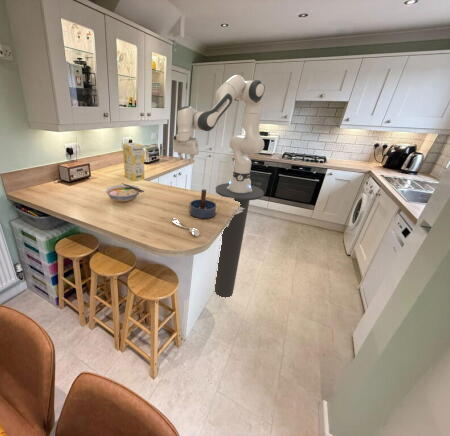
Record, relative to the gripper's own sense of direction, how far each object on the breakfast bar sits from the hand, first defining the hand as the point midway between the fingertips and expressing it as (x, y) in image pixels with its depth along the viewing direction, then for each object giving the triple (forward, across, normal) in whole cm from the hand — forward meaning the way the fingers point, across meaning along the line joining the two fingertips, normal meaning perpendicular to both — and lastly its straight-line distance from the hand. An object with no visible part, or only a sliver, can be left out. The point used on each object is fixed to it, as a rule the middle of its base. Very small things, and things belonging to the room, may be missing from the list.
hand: (185, 161), depth 141 cm
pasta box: (+24, +72, +2) cm, 75 cm away
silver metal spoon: (+28, -27, +23) cm, 45 cm away
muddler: (+28, -18, +3) cm, 33 cm away
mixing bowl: (+28, -18, +3) cm, 34 cm away
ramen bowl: (+25, +27, +32) cm, 49 cm away
